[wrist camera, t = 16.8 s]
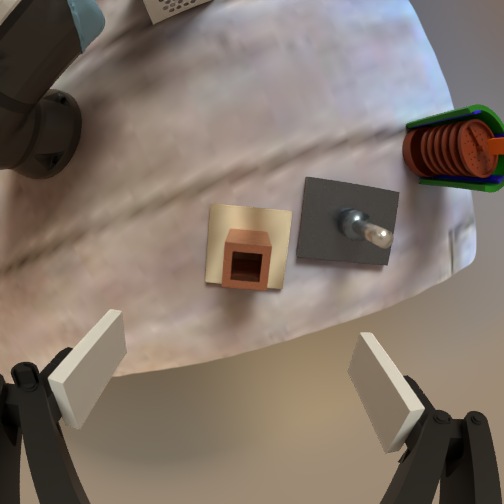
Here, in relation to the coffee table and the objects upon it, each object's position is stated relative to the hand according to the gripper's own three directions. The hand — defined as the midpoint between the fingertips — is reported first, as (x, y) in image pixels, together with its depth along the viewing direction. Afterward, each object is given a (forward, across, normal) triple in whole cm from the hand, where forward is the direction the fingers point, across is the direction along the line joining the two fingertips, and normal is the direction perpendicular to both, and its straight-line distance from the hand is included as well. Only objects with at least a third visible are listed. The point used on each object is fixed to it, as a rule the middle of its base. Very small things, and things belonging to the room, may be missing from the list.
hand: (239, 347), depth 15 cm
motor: (+27, +26, +17) cm, 42 cm away
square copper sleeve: (+26, 0, -1) cm, 26 cm away
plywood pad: (+27, 0, -1) cm, 27 cm away
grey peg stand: (+27, +14, +4) cm, 31 cm away
